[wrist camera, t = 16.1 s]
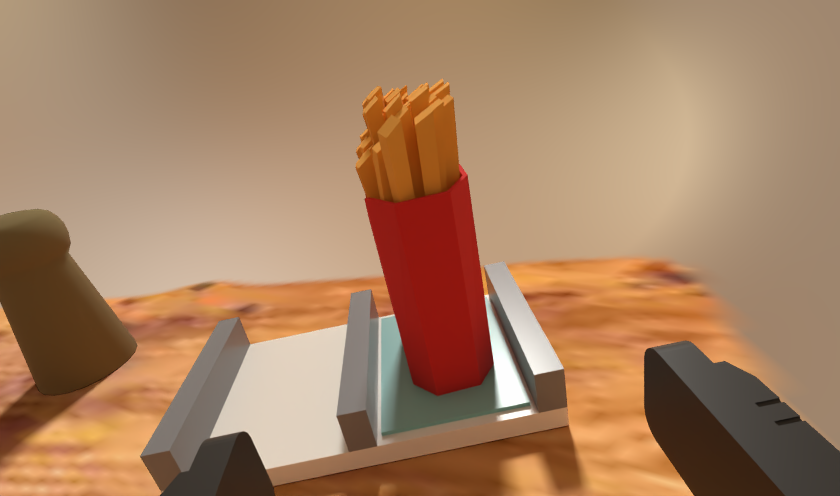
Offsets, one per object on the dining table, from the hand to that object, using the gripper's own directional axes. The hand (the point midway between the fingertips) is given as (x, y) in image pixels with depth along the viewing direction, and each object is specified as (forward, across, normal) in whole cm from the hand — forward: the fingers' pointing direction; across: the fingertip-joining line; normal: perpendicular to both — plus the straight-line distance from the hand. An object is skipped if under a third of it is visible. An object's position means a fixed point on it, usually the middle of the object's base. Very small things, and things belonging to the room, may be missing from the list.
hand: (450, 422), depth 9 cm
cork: (+21, +24, +9) cm, 33 cm away
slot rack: (+12, +4, +9) cm, 16 cm away
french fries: (+13, 0, +8) cm, 15 cm away
